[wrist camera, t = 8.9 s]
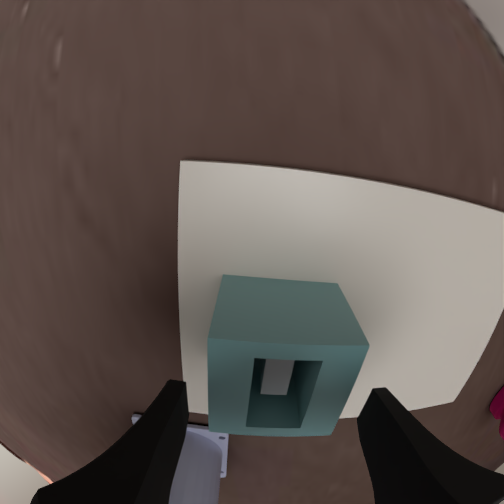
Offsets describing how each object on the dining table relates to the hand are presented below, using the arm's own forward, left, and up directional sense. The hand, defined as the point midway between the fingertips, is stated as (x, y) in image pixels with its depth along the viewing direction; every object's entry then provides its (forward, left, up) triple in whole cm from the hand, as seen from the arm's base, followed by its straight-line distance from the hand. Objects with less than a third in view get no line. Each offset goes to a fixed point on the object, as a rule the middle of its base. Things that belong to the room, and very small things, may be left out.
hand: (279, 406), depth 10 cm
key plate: (0, -6, -7) cm, 9 cm away
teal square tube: (0, 0, -5) cm, 5 cm away
